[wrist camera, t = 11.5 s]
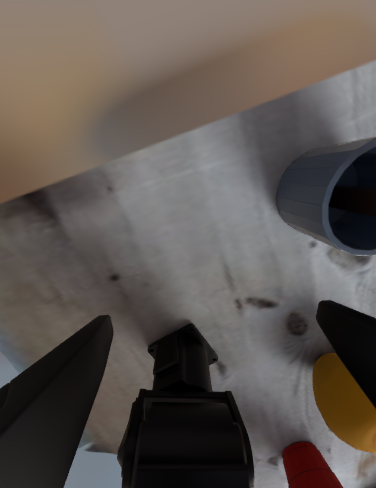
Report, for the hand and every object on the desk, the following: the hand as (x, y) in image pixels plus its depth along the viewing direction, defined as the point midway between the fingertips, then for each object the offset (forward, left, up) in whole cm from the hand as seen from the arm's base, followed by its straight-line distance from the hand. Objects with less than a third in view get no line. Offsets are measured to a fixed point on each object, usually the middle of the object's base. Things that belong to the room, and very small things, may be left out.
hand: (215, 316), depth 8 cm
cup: (-3, -12, -12) cm, 17 cm away
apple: (-24, -6, -12) cm, 28 cm away
